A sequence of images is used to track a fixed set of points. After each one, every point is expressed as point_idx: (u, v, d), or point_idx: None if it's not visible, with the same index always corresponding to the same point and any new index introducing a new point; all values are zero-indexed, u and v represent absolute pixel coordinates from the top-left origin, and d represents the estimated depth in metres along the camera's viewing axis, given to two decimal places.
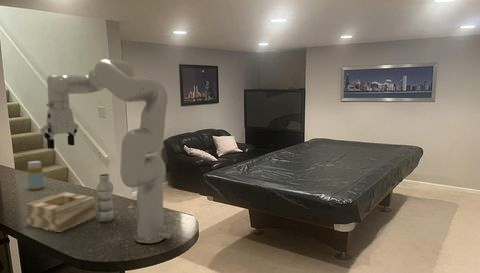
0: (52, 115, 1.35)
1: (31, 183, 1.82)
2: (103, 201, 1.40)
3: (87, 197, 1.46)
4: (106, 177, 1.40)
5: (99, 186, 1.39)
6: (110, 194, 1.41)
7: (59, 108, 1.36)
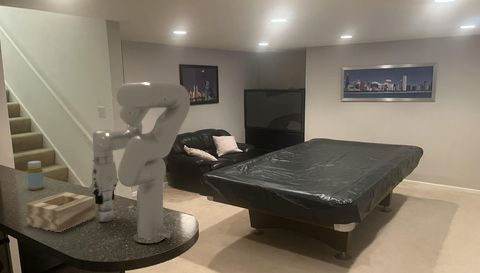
0: (98, 171, 1.36)
1: (31, 183, 1.82)
2: (103, 201, 1.40)
3: (87, 197, 1.46)
4: None
5: None
6: (110, 194, 1.41)
7: (104, 163, 1.37)
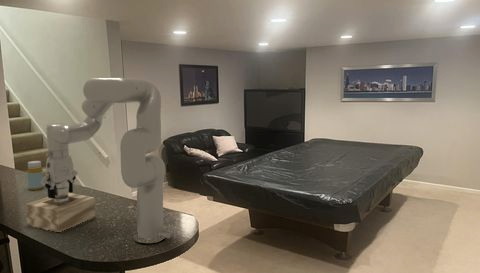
0: (51, 165, 1.34)
1: (31, 183, 1.82)
2: (58, 199, 1.39)
3: (87, 197, 1.46)
4: None
5: None
6: (65, 192, 1.40)
7: (58, 157, 1.36)
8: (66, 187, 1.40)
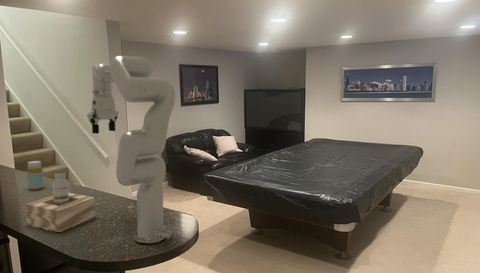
0: (97, 102, 1.45)
1: (31, 183, 1.82)
2: (58, 199, 1.39)
3: (87, 197, 1.46)
4: (61, 175, 1.39)
5: (54, 184, 1.38)
6: (66, 192, 1.40)
7: (103, 95, 1.46)
8: (66, 187, 1.40)
